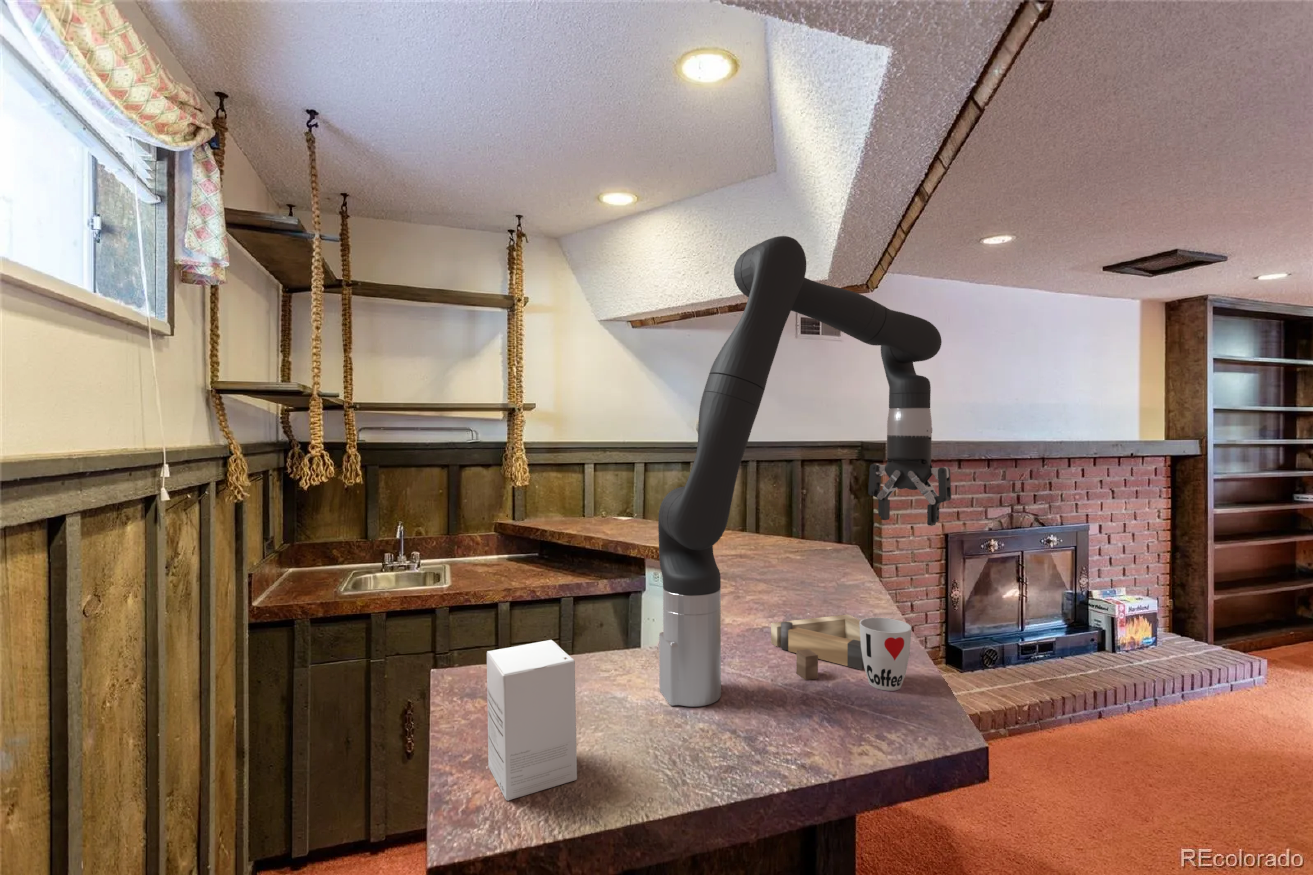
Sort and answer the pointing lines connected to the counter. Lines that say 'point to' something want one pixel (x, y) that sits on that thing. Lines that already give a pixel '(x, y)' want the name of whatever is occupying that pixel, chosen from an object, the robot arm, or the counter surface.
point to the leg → (822, 645)
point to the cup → (885, 651)
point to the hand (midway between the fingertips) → (907, 522)
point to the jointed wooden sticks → (828, 625)
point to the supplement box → (531, 718)
